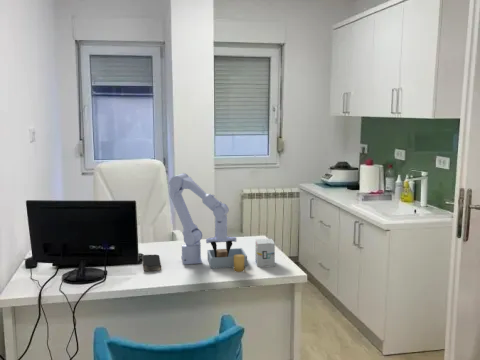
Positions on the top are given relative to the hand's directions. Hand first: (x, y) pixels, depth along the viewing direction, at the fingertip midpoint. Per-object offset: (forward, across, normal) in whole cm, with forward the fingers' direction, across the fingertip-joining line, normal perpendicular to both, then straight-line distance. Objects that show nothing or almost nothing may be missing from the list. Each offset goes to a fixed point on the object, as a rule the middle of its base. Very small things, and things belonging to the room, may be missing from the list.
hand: (221, 256), depth 237 cm
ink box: (+4, +21, -3) cm, 22 cm away
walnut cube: (+2, 0, 0) cm, 2 cm away
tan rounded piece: (+4, +7, -10) cm, 12 cm away
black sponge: (+5, -33, +4) cm, 34 cm away
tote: (+4, +3, +2) cm, 5 cm away
